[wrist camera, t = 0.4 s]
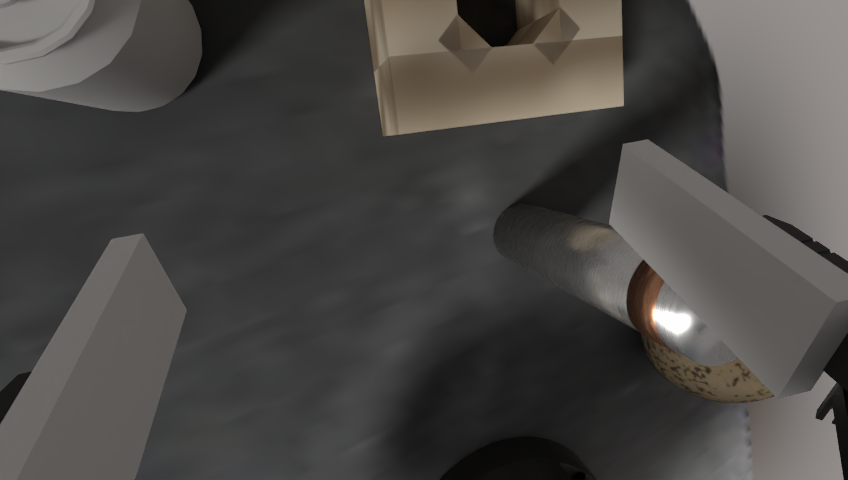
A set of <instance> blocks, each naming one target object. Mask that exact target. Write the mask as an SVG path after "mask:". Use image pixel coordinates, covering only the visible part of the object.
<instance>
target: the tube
mask: <svg viewBox="0 0 848 480" xmlns="http://www.w3.org/2000/svg"><path fill="white" fill-rule="evenodd" d="M493 237H494V243H495V246H496V248H497V250H498V251H499V252H500V254H502V255H503V256H504V257H505V258H507V259H509V260H511V261H513V262H514V263H516V264H518V265H520V266H522V267H523V268H525V269H527V270H529V271H531V272H532V273H534V274H536V275H538V276H540V277H541V278H543V279H545V280H547V281H549V282H550V283H552V284H554V285H556V286H558V287H559V288H561V289H563V290H565V291H567V292H568V293H570V294H572V295H574V296H576V297H577V298H579V299H581V300H583V301H585V302H587V303H588V304H590V305H592V306H594V307H596V308H597V309H599V310H601V311H603V312H605V313H606V314H608V315H610V316H612V317H614V318H615V319H617V320H619V321H621V322H623V323H624V324H626V325H628V326H630V327H632V328H633V329H635V330H637V331H638V332H639V333H641V334H642V335H644V336H645V337H647V338H649V339H651V340H652V341H654V342H656V343H658V344H660V345H661V346H663V347H665V348H667V349H669V350H670V351H672V352H674V353H677V354H680V355H682V356H684V357H686V358H688V359H689V360H691V361H693V362H695V363H697V364H699V365H703V366H719V365H723V364H726V363H729V362H731V361H733V360H735V359H736V358H738V357H737V356H736V355H735V354H734V353H733V352H732V351H731V350H730V349H729V348H728V347H727V346H726V345H725V344H724V343H723V342H722V340H721V339H720V338H719V337H718V336H717V335H716V334H715V333H714V332H713V331H712V330H711V329H710V328H709V327H708V326H707V325H706V324H705V323H704V322H703V321H702V320H701V319H700V318H699V317H698V316H697V314H696V313H695V312H694V311H693V310H692V309H691V308H690V307H689V306H688V305H687V304H686V303H685V302H684V301H683V300H682V299H681V298H680V297H679V296H678V295H677V294H676V293H675V292H674V291H673V290H672V288H671V287H670V286H669V285H668V284H667V283H666V282H665V281H664V280H663V279H662V278H661V277H660V276H659V275H658V274H657V273H656V272H655V271H654V270H653V269H652V268H651V267H650V266H649V265H648V264H647V262H646V261H645V260H644V259H643V258H642V257H641V256H640V255H639V254H638V253H637V252H636V251H635V250H634V249H633V248H632V247H631V246H630V245H629V244H628V243H627V242H626V241H625V240H624V239H623V238H622V236H621V235H620V234H619V233H618V232H617V231H616V230H615V229H614V228H613V227H612V226H611V225H607V224H604V223H600V222H596V221H592V220H588V219H584V218H580V217H577V216H573V215H569V214H565V213H561V212H557V211H553V210H550V209H546V208H542V207H538V206H534V205H530V204H525V203H521V204H515V205H513V206H510V207H509V208H507V209H506V210H505V211H503V212H502V214H501V215H500V216H499V218H498V219H497V221H496V224H495V227H494V233H493Z"/></svg>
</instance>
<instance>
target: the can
mask: <svg viewBox="0 0 848 480" xmlns="http://www.w3.org/2000/svg"><path fill="white" fill-rule="evenodd" d="M201 56H202V38H201V28H200V25H199V23H198V20H197V17H196V14H195V12H194V9H193V6H192V5H191V3H190V2H189V0H0V90H4V91H9V92H15V93H20V94H26V95H31V96H36V97H42V98H47V99H53V100H58V101H64V102H69V103H75V104H80V105H85V106H91V107H96V108H102V109H107V110H113V111H129V112H142V111H146V110H150V109H154V108H158V107H162V106H164V105H166V104H167V103H169V102H170V101H172V100H173V99H175V98H176V97H178V96H180V95H181V94H182V93H183V92H184V91H185V89H186V88H187V87H188V85H189V84H190V83H191V81H192V80H193V79H194V77H195V76H196V73H197V70H198V66H199V63H200V60H201Z"/></svg>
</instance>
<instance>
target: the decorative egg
mask: <svg viewBox="0 0 848 480" xmlns="http://www.w3.org/2000/svg"><path fill="white" fill-rule="evenodd" d="M641 335H642V334H641ZM642 343H643V347H644V350H645V352H646V355H647V357H648V359H649V360H650V362H651V363H652V365H653V366H654V367H655V369H656V370H657V371H658V372H659V373H660V374H661V375H662V376H663V377H664V378H665V379H667V380H668V381H669V382H671V383H672V384H673V385H675V386H677V387H678V388H680V389H682V390H684V391H686V392H688V393H690V394H693V395H695V396H698V397H701V398H704V399H708V400H713V401H718V402H726V403H743V402H753V401H759V400H764V399H767V398H770V397H773V396H774V395H773V394H772V392H771V391H770V390H769V389H768V388H767V387H766V386H765V385H764V384H763V383H762V382H761V381H760V380H759V379H758V378H757V377H756V376H755V375H754V374H753V373H752V372H751V371H750V370H749V369H748V368H747V366H746V365H745V364H744V363H743V362H742V361H741V360H740V359H739V358H736V359H735V360H733V361H731V362H729V363H726V364H723V365H719V366H703V365H699V364H697V363H695V362H693V361H691V360H689V359H688V358H686V357H684V356H682V355H680V354H677V353H674V352H672V351H670V350H669V349H667V348H665V347H663V346H661V345H660V344H658V343H656V342H654V341H652V340H651V339H649V338H647V337H645V336H644V335H642Z"/></svg>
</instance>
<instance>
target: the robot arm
mask: <svg viewBox="0 0 848 480" xmlns="http://www.w3.org/2000/svg"><path fill="white" fill-rule="evenodd" d="M609 224H610V225H611V226H612V227H613V228H614V229H615V230H616V231H617V232H618V233H619V234H620V235H621V236H622V238H623V239H624V240H625V241H626V242H627V243H628V244H629V245H630V246H631V247H632V248H633V249H634V250H635V251H636V252H637V253H638V254H639V255H640V256H641V257H642V258H643V259H644V260H645V261H646V262H647V264H648V265H649V266H650V267H651V268H652V269H653V270H654V271H655V272H656V273H657V274H658V275H659V276H660V277H661V278H662V279H663V280H664V281H665V282H666V283H667V284H668V285H669V286H670V287H671V288H672V290H673V291H674V292H675V293H676V294H677V295H678V296H679V297H680V298H681V299H682V300H683V301H684V302H685V303H686V304H687V305H688V306H689V307H690V308H691V309H692V310H693V311H694V312H695V313H696V314H697V316H698V317H699V318H700V319H701V320H702V321H703V322H704V323H705V324H706V325H707V326H708V327H709V328H710V329H711V330H712V331H713V332H714V333H715V334H716V335H717V336H718V337H719V338H720V339H721V340H722V342H723V343H724V344H725V345H726V346H727V347H728V348H729V349H730V350H731V351H732V352H733V353H734V354H735V355H736V356H737V357H738V358H739V359H740V360H741V361H742V362H743V363H744V364H745V365H746V366H747V368H748V369H749V370H750V371H751V372H752V373H753V374H754V375H755V376H756V377H757V378H758V379H759V380H760V381H761V382H762V383H763V384H764V385H765V386H766V387H767V388H768V389H769V390H770V391H771V392H772V394H773V395H774V396H775V397H776V398H777V399H779V398H783V397H787V396H790V395H794V394H798V393H802V392H806V391H810V390H811V389H812V388H813V386H814V385H815V383H816V382H817V380H818V379H819V377H820V376H821V374H822V373H823V371H825V372H826V373H827V374H828V375H829V376H830V377H831V378H833V379H834V380H835V381H836V382H837V383H836V384H835V386H834V387H833V388H832V390H831V391H830V393H829V394H828V395H827V397H826V398H825V400H824V401H823V402H822V404H821V405H820V407H819V408H818V410H817V413H816V418H817V419H820V420H823V419H824V417H825V416H826V414H827V413H828V412H829V410H830V409H832V408H833V411H834V417H835V419H834V420H833V421H832V423H833V424H835V425H836V431H837V438H838V444H839V451H840V457H841V464H842V470H843V477H844V480H848V261H846V260H845V259H843V258H842V257H840V256H839V255H837V254H836V253H830V250H829V249H828V248H826V247H825V246H823V245H822V244H820V243H819V242H817V241H816V242H814V241H813V239H812V238H811V237H810V236H808V235H806V234H805V233H803V232H802V231H800V230H799V229H797V228H795V227H794V226H793V225H790V224H788V223H785V222H783V221H780V220H778V219H775V218H772V217H770V216H767V215H764V216H761V215H760V214H758V213H756V212H755V211H753V210H752V209H751V208H749V207H747V206H746V205H745V204H743V203H741V202H740V201H739V200H737V199H736V198H734V197H733V196H731V195H730V194H728V193H727V192H725V191H724V190H722V189H721V188H719V187H718V186H716V185H715V184H713V183H712V182H710V181H709V180H708V179H706V178H705V177H703V176H702V175H700V174H699V173H697V172H696V171H694V170H693V169H691V168H690V167H688V166H687V165H685V164H684V163H682V162H681V161H679V160H678V159H676V158H675V157H673V156H672V155H670V154H669V153H667V152H666V151H664V150H663V149H661V148H660V147H658V146H657V145H655V144H654V143H653V142H651V141H650V140H648V139H647V140H642V141H636V142H631V143H626V144H623V146H622V152H621V158H620V164H619V169H618V175H617V181H616V186H615V192H614V198H613V203H612V209H611V215H610V221H609ZM186 311H187V310H186V308H185V306H184V304H183V303H182V301H181V299H180V297H179V296H178V294H177V292H176V290H175V289H174V287H173V285H172V283H171V282H170V280H169V278H168V276H167V275H166V273H165V271H164V269H163V268H162V266H161V264H160V262H159V261H158V259H157V257H156V255H155V253H154V252H153V250H152V248H151V246H150V245H149V243H148V241H147V239H146V238H145V236H144V234H143V233H142V234H137V235H132V236H126V237H121V238H115V239H111V241H110V243H109V244H108V246H107V248H106V249H105V251H104V253H103V254H102V256H101V258H100V259H99V261H98V263H97V264H96V266H95V268H94V269H93V271H92V273H91V274H90V276H89V278H88V279H87V281H86V283H85V284H84V286H83V288H82V289H81V291H80V293H79V294H78V296H77V298H76V299H75V301H74V303H73V304H72V306H71V308H70V309H69V311H68V313H67V314H66V316H65V318H64V319H63V321H62V323H61V324H60V326H59V328H58V329H57V331H56V333H55V334H54V336H53V338H52V339H51V341H50V342H49V344H48V346H47V347H46V349H45V351H44V352H43V354H42V356H41V357H40V359H39V361H38V362H37V364H36V366H35V367H34V369H33V371H32V372H28V373H23V374H18V375H17V376H16V377H15V378H14V379H13V380H12V381H11V382H10V383H9V384H8V385H7V386H6V387H5V388H4V389H3V390H2V391H1V392H0V480H135V478H136V474H137V471H138V468H139V465H140V461H141V458H142V455H143V451H144V448H145V445H146V442H147V438H148V435H149V432H150V429H151V425H152V422H153V419H154V415H155V412H156V409H157V406H158V402H159V399H160V396H161V393H162V389H163V386H164V383H165V379H166V376H167V373H168V370H169V366H170V363H171V360H172V357H173V353H174V350H175V347H176V343H177V340H178V337H179V334H180V330H181V327H182V324H183V321H184V317H185V314H186ZM442 480H597V479H596V478H595V476H594V475H593V474H592V473H591V472H590V471H589V470H588V468H587V467H586V466H585V465H584V464H583V463H582V462H581V460H580V459H579V458H578V457H577V456H576V455H575V454H574V453H573V452H571V451H570V450H569V449H567V448H566V447H564V446H562V445H560V444H558V443H555V442H553V441H549V440H545V439H540V438H516V439H510V440H505V441H501V442H498V443H495V444H492V445H490V446H487V447H485V448H483V449H481V450H479V451H477V452H475V453H473V454H472V455H470V456H468V457H467V458H465V459H464V460H463V461H461V462H460V463H459V464H457V465H456V466H455V467H454V468H453V469H452V470H451V471H449V472H448V473H447V474H446V475H445V477H444V478H443V479H442Z"/></svg>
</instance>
